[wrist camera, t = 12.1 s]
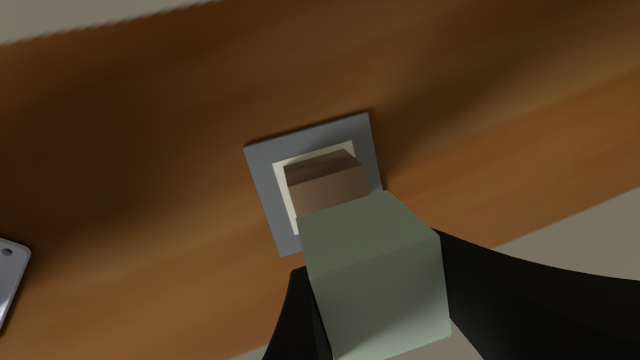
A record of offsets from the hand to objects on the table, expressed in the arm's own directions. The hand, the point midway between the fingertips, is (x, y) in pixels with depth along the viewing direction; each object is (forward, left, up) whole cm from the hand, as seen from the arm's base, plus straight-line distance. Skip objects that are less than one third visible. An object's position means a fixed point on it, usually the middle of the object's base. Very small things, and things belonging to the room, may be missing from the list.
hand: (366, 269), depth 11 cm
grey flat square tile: (0, 0, -10) cm, 10 cm away
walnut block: (0, 0, -9) cm, 9 cm away
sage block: (0, 0, -2) cm, 2 cm away
